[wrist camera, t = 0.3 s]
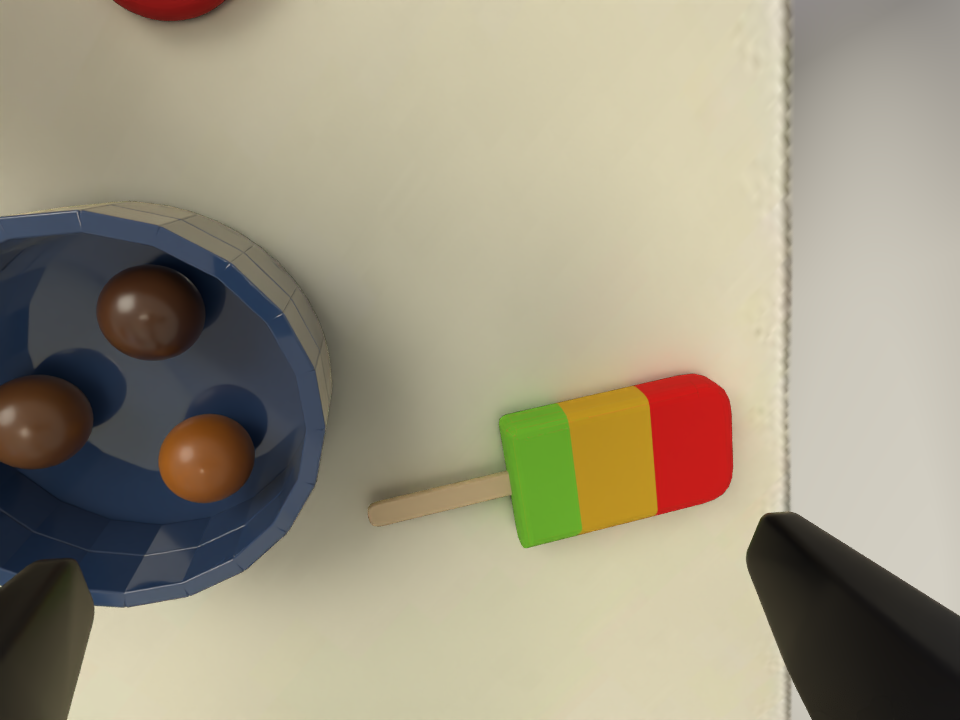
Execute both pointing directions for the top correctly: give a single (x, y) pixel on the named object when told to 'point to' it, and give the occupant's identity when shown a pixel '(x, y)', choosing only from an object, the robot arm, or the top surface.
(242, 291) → the bowl
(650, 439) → the popsicle
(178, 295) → the bead
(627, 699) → the top surface
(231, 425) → the bead
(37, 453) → the bead
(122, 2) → the lollipop
